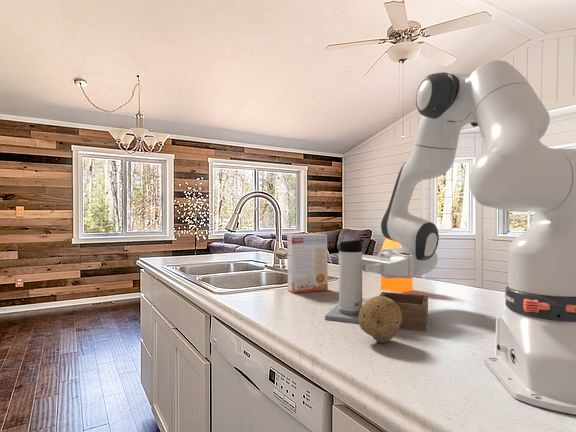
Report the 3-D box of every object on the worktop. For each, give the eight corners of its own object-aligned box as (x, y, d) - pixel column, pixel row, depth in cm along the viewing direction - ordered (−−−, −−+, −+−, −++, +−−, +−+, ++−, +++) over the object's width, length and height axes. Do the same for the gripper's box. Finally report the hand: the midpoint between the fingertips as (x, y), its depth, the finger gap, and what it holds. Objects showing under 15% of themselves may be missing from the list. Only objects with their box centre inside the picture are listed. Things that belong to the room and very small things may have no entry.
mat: (366, 324, 89) (366, 320, 89) (324, 319, 94) (324, 315, 94) (374, 312, 100) (374, 309, 100) (337, 308, 105) (337, 305, 105)
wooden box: (426, 331, 84) (426, 306, 84) (374, 325, 89) (374, 301, 89) (427, 318, 95) (427, 295, 95) (382, 313, 100) (382, 291, 100)
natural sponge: (380, 353, 70) (380, 303, 70) (349, 340, 78) (349, 294, 78) (410, 344, 75) (410, 297, 75) (379, 333, 83) (379, 290, 83)
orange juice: (392, 286, 139) (392, 235, 139) (412, 290, 132) (412, 236, 132) (380, 289, 134) (380, 235, 134) (401, 292, 127) (401, 237, 127)
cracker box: (321, 287, 136) (321, 233, 136) (328, 290, 130) (328, 233, 130) (286, 290, 131) (286, 233, 132) (292, 293, 126) (292, 234, 126)
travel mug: (363, 316, 93) (363, 240, 93) (338, 314, 95) (338, 239, 95) (363, 310, 99) (363, 238, 99) (339, 308, 101) (339, 238, 101)
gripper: (367, 249, 113) (331, 251, 107) (418, 255, 95) (378, 258, 89) (367, 269, 113) (331, 272, 107) (417, 279, 95) (378, 283, 89)
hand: (353, 266), depth 98 cm, fingers open, 8 cm apart
